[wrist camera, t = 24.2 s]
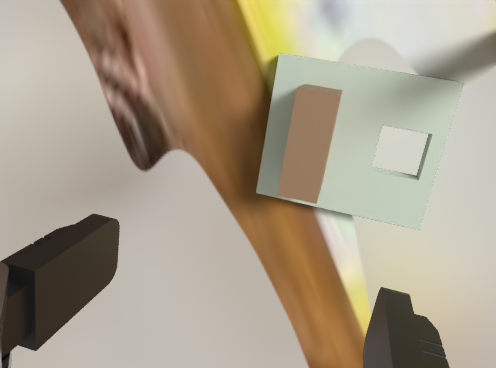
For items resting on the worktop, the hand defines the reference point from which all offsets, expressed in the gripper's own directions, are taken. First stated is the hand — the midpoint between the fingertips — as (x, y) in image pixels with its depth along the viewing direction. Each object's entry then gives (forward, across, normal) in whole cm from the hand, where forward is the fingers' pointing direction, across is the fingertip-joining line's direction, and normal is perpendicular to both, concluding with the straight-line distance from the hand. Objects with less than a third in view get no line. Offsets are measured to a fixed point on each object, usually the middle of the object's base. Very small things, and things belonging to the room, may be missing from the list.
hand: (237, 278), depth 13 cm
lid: (+26, -3, 0) cm, 26 cm away
